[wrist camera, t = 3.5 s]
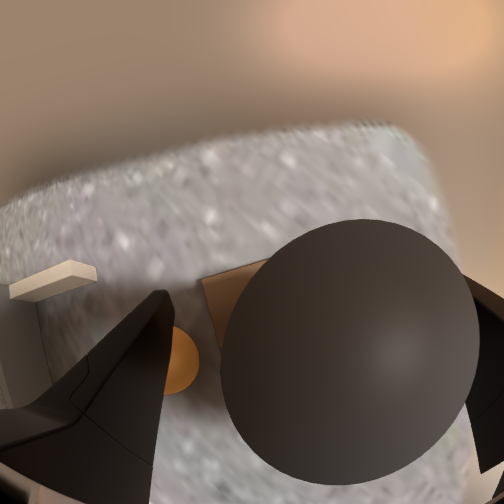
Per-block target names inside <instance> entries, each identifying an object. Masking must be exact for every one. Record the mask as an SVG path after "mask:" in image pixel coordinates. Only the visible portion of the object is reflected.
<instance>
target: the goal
mask: <svg viewBox="0 0 504 504" xmlns="http://www.w3.org/2000/svg"><path fill="white" fill-rule="evenodd" d="M96 281H98V280H97V274H96V267H93V266H89V265H86V264H83V263H80V262H76V261H73V260H68V261H65V262H63V263H61V264H58V265H56V266H53V267H51V268H48V269H46V270H44V271H41V272H39V273H37V274H34V275H32V276H30V277H27V278H25V279H23V280H21V281H18V282H16V283H14V284H12V285H9V286H8V285H3V284H0V387H1V390H2V394H3V397H4V400H5V404H6V407H7V409H13V408H20V407H23V406H26V405H28V404H30V403H31V402H33V401H34V400H35V399H37V398H38V397H39V396H40V395H41V394H43V393H44V392H45V391H46V390H47V389H49V388H50V387H51V386H52V385H53V383H52V380H51V376H50V372H49V368H48V364H47V360H46V356H45V352H44V347H43V342H42V338H41V332H40V327H39V321H38V315H37V308H36V302H37V301H40V300H43V299H46V298H49V297H52V296H55V295H58V294H61V293H64V292H67V291H70V290H72V289H75V288H78V287H81V286H84V285H87V284H90V283H93V282H96Z"/></svg>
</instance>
